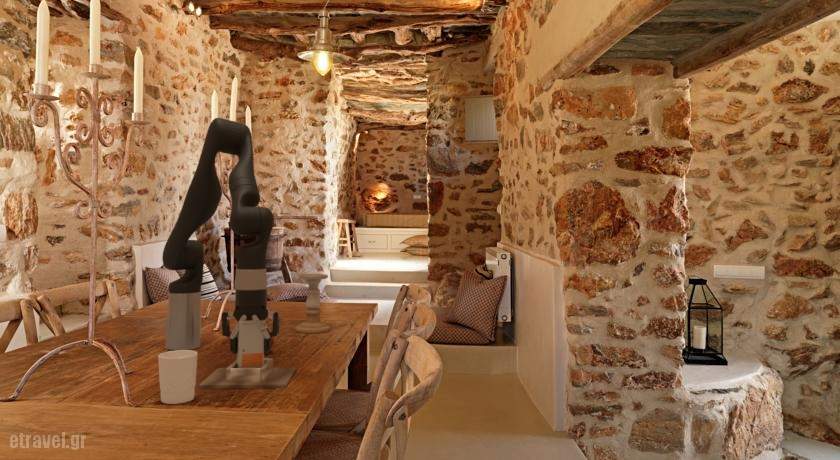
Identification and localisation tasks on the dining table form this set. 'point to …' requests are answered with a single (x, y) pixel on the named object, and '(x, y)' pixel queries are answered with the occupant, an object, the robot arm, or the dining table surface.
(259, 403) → the dining table surface
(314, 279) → the candle holder
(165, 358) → the white cup
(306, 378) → the dining table surface
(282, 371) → the socket board
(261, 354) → the skincare box
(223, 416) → the dining table surface
